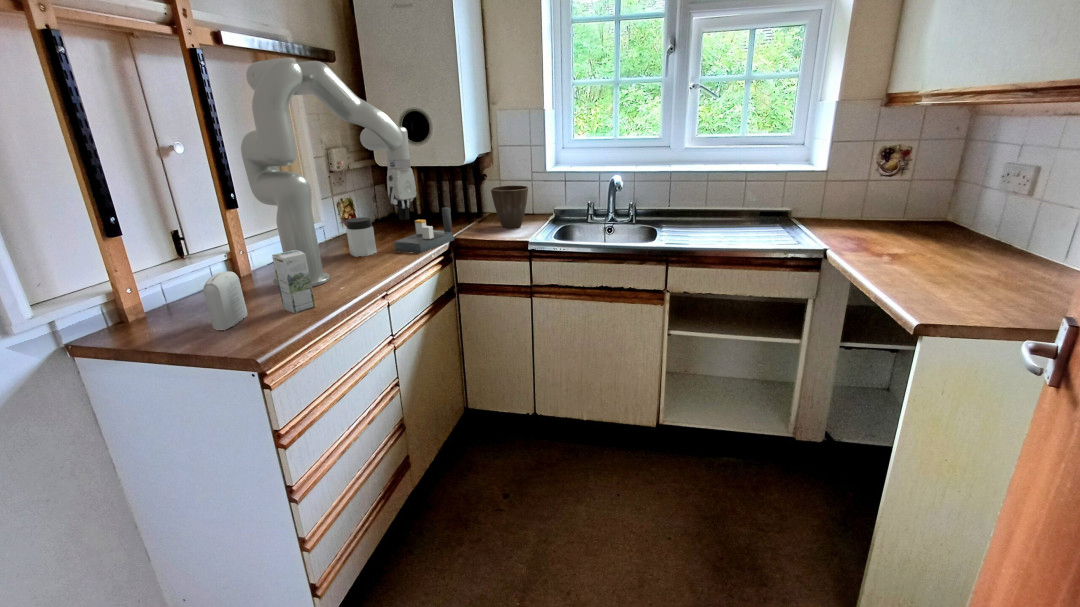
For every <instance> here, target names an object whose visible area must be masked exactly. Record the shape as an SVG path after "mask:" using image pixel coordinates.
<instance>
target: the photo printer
mask: <svg viewBox="0 0 1080 607" xmlns="http://www.w3.org/2000/svg"><path fill="white" fill-rule="evenodd" d="M202 292H203V295H204V299H205V304H206V307H207V310H208V314H209V318H210V322H211V325H212V329H213V330H214V329H219V330H220V329H227V328H230V327H232V326H233V327H234V326H236V325H237V324H239V323H240V322H241V321H243V318H244V319H245V318H246V317H248V310H247V309H248V308H247V306H246V302H245V297H244V294H243V290H242V286H241V281H240V278H239V276H238V275H237V274H236V273H235V272H233V271H231V270H230V271H220V272H217V273H215V274H214V275H212V276H211V277H210V278H209V279H207V281H206V282H205V283H204V285H203V287H202ZM239 321H240V322H239ZM235 324H236V325H235ZM233 327H232V328H233ZM230 329H231V328H230Z"/></svg>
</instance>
